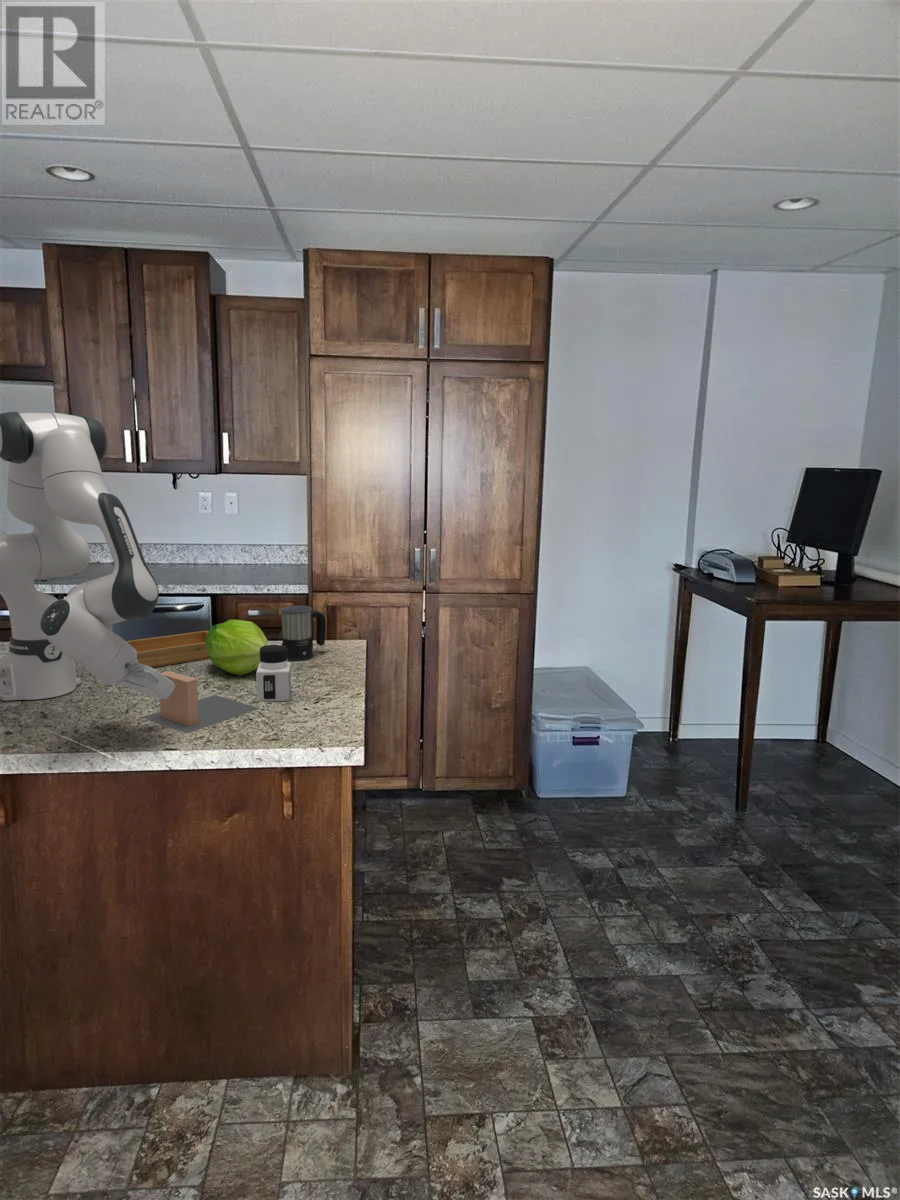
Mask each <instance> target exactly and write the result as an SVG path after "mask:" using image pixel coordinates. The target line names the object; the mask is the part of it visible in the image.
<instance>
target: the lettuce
mask: <svg viewBox="0 0 900 1200" xmlns="http://www.w3.org/2000/svg"><path fill="white" fill-rule="evenodd" d="M208 631H209V632H208V634H207V637H206V639H205V648H206V651H207V654H208V657H209V659H208V660H210V661H211V662H212V664H213V665H214V666H216V667H217V668H219V669H220V670H223V671H224V672H227V673H230V674H233V675H234V676H235V675H236V676H243V675H246V674H250V673H252V672H253V671H255V670H256V669H258V666H259V663H260V648H261V647H262V646H265V645H268V644H269V640H268V639H267V637H266V636H265V635H266V634H265V633H264V632H263V630H262V629H261V628H260V627H259V626H258V625H257V624H256V623H254V622H253V621H250V620H249V621H248V620H241V619H228V620H226V621H225V622H222V623H217V624H215V625H212V626H211V628H210V629H209V630H208Z"/></svg>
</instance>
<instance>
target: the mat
mask: <svg viewBox="0 0 900 1200" xmlns="http://www.w3.org/2000/svg"><path fill="white" fill-rule="evenodd" d="M260 709H261V708H260V707H257V706H253V705H249V704H247V703H244V702H239V701H237V700H233V699H230V698H227V697H223V696H219V695H217V694H214V695H211V696H208V697H207V696H206V697H204V698H201V699H198V718H199V723H198V724H195V725H192V726H186V725H183V724H181V723H178V722H175V721H172V720H169V719H166V718H163V717H161V714H160V711H157V712H155V713H151V714H150V713H149V714H147V715H144V716H141V719H142V718H143V719H145V720H147V721H151V722H154V723H157V724H159V725H162V726H165V727H168V728H170V729H173V730H177V731H179V732H182V733H186V734H190V733H192V732H196V731H198V730H201V729H204V728H207V727H210V726H213V725H216V724H219V723H221V722H224V721H228V720H231V719H233V718H236V717H239V716H242V715H245V714H248V713H251V712H254V711H257V710H260Z"/></svg>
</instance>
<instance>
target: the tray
mask: <svg viewBox="0 0 900 1200" xmlns="http://www.w3.org/2000/svg"><path fill="white" fill-rule="evenodd" d="M209 631H210V630H201V631H192V632H186V633H179V634H171V635H170V634H169V635H163V636H156V637H155V636H154V637H148V638H146V637H145V638H139V639H133V640H125V641H126V642H127V643H128V644H130V645H131V646H132V647H133V648H135V650H136V651H137V661H138V663H140V664H143V665H147V666H149V667H152V668H153V669H154V668H159V667H163V666H164V667H165V666H171V665H176V664H184V663H190V662H195V661H196V662H197V661H202V660H210V659H209V657H208V654H207V651H206V648H205V639H206V637H207V634H208V632H209Z"/></svg>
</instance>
